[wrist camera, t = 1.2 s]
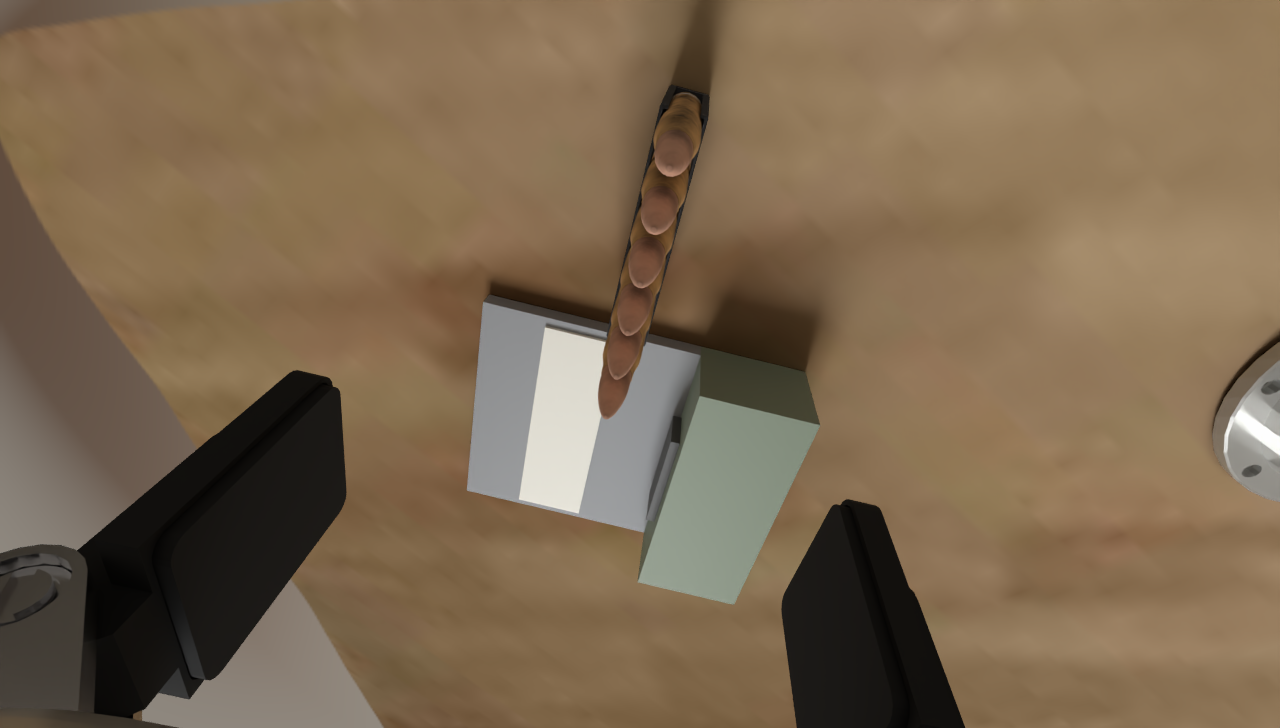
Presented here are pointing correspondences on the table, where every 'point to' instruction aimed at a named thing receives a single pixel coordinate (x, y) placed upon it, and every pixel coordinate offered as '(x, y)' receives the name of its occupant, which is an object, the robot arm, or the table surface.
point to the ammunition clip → (651, 239)
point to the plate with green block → (640, 441)
